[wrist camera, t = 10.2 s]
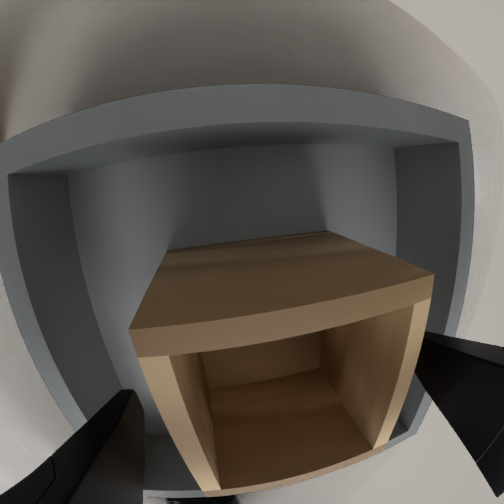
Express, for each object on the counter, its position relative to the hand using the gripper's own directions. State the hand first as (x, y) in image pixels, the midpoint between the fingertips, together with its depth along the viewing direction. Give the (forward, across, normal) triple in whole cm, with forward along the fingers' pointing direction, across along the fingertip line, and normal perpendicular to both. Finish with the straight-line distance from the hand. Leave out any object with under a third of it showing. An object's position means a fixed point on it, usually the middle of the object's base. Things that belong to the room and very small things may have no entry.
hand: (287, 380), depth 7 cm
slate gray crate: (+5, 0, 0) cm, 5 cm away
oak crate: (+4, 0, 0) cm, 4 cm away
